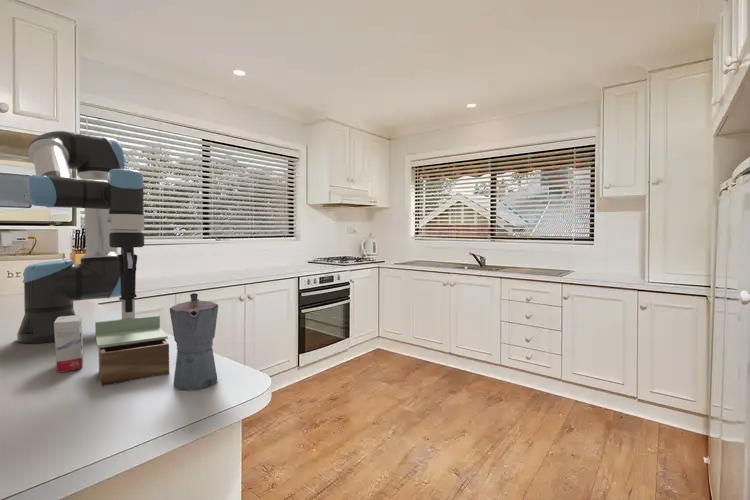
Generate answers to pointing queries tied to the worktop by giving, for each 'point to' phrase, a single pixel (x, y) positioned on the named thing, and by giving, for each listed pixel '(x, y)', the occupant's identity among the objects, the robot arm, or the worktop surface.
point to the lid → (128, 331)
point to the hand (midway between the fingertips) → (128, 324)
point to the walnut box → (133, 361)
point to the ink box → (68, 343)
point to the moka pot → (194, 343)
